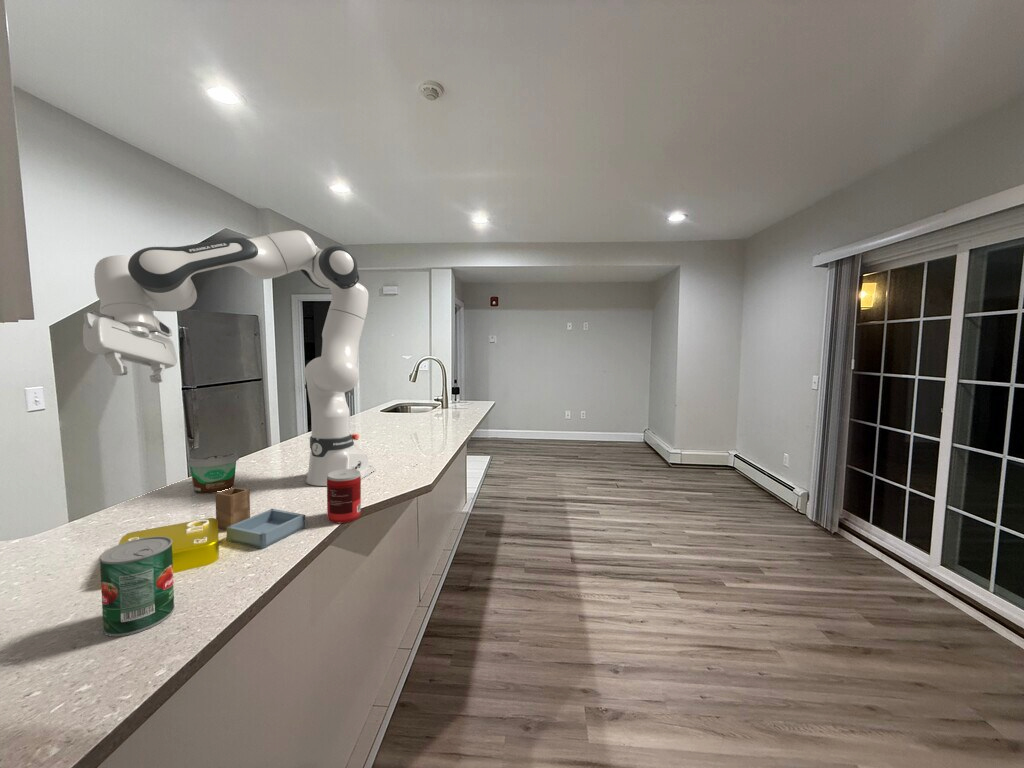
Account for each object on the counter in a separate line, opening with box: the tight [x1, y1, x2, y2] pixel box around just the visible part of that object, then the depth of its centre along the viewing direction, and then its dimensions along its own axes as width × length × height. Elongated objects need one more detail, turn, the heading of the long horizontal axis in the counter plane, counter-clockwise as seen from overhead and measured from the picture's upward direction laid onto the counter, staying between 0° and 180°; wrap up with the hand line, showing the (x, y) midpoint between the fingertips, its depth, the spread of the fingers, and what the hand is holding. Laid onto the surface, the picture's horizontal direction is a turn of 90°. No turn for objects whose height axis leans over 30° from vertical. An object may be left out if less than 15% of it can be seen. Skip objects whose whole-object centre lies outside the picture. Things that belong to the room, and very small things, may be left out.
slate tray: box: [226, 508, 307, 550], centre depth 88 cm, size 11×10×3 cm
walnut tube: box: [214, 486, 251, 531], centre depth 91 cm, size 5×5×8 cm
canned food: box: [326, 469, 362, 524], centre depth 98 cm, size 8×8×11 cm
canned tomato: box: [99, 536, 175, 637], centre depth 59 cm, size 8×8×11 cm
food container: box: [186, 450, 240, 494], centre depth 113 cm, size 12×6×10 cm, turn 143°
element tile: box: [118, 517, 220, 574], centre depth 77 cm, size 15×15×5 cm
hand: (140, 378), depth 90 cm, fingers open, 8 cm apart
